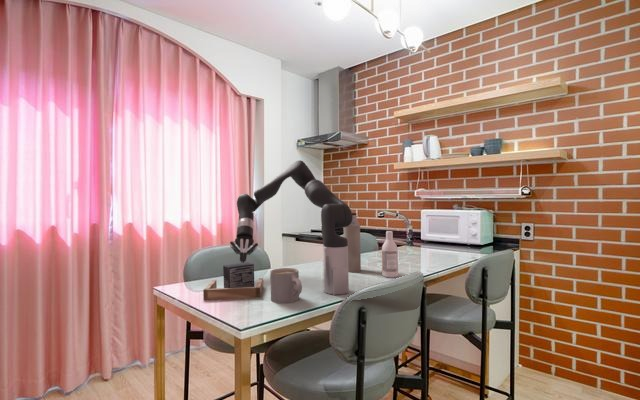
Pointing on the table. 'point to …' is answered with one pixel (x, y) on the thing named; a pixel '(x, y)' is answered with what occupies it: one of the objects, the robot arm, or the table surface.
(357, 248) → the thermos bottle
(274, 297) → the coffee mug
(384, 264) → the bath foam
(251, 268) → the small box
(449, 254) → the table surface
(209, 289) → the walnut tray
